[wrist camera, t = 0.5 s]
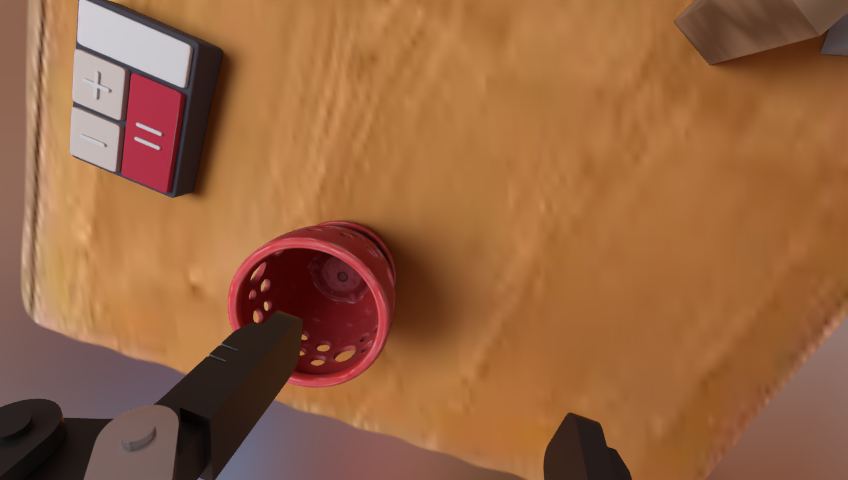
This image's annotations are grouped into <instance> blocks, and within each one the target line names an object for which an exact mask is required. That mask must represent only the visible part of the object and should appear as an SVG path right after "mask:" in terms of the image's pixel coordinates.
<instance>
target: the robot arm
mask: <svg viewBox="0 0 848 480" xmlns="http://www.w3.org/2000/svg"><path fill="white" fill-rule="evenodd" d="M302 328H303V320H302V319H301V318H299V317H296V316H293V315H290V314H287V313H284V312H281V311H276V312H275V313H273V314H272V315H271V316H270V317H269V318H268V319H267V320H266V321H265V322H264V323H263V324H259V323H256V322H252V323H250V324H248V325H246V326H243V327H241V328H239V329H237V330H235V331H234V332H233V333H232V334H231V335H230V336H229V337H228V338H227V339H225V340H224V341H223V342H222V343H221V345H220V346H218V347H217V348H216V349H215V350H213V351H212V352H211V353H210V355H209V357H206V358H205V359H204V360H203V361H202V362H200V363H199V364H198V365H197V366H196V367H195V368H194V369H193V370H192V371H191V372H190V373H188V374H187V375H186V376H185V377H184V378H183V379H182V380H181V381H180V382H179V383H178V384H177V385H175V386H174V387H173V388H172V389H171V390H170V391H169V392H168V393H167V394H166V395H165V396H164V397H162V398H161V399H160V400H159V401H158V402H157V403H155V404H153V405H146V406H141V407H137V408H134V409H131V410H129V411H127V412H125V413H123V414H121V415H119V416H117V417H116V418H115V419H87V418H86V419H85V418H63V414H62V411H61V408H60V407H59V405H58V404H56V403H55V402H53V401H50V400H46V399H28V400H22V401H18V402H14V403H11V404H8V405H5V406H3V407H0V480H197V479H198V478H202V479H204V480H215V479H216V478H217V476H218V475H219V474H220V472H221V471H222V469H223V468H224V467H225V465H226V464H227V462H228V461H229V460H230V459H231V457H232V456H233V455H234V453H235V452H236V450H237V449H238V448H239V446H240V445H241V444H242V442H243V441H244V439H245V438H246V437H247V435H248V434H249V433H250V431H251V430H252V429H253V427H254V426H255V424H256V423H257V422H258V420H259V419H260V418H261V416H262V415H263V414H264V412H265V411H266V409H267V408H268V407H269V405H270V404H271V403H272V401H273V400H274V399H275V397H276V396H277V394H278V393H279V392H280V390H281V389H282V388H283V386H284V385H285V384H286V382H287V381H288V379H289V378H290V377H291V375H292V373H293V372H294V370H295V368H296V365H297V363H298V360H299V355H300V346H301V337H302ZM544 480H632V478H631V475H630V472H629V470H628V468H627V467H626V465H625V464H624V462H623V460H622V459H621V457H620V456H619V454H618V452H617V451H616V450H615V449H613V448H610V447H607V445H606V441H605V437H604V434H603V430H602V427H601V425H600V423H599V422H597V421H594V420H591V419H588V418H585V417H582V416H579V415H576V414H574V413H568V414H567V415H566V417H565V418H564V420H563V422H562V423H561V425H560V426H559V428H558V430H557V431H556V433H555V435H554V436H553V438H552V439H551V441H550V443H549V444H548V446H547V449H546V452H545V456H544Z"/></svg>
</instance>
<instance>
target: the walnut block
mask: <svg viewBox="0 0 848 480" xmlns="http://www.w3.org/2000/svg"><path fill="white" fill-rule="evenodd" d="M847 12H848V0H695V1H694V2H693V3H692V4H691V5H690V6H689V7H688V8H687V9H685V10H684V11H683V12H682V13H681V14H680V15H679V16H678V17H677V18H676V19H675V20H674V21H673V22H674V23H675V25H676V26H677V27H678V28H679V29H680V31H681V32H682V33H683V34H684V35H685V36H686V38H687V39H688V40H689V41H690V42H691V44H692V45H693V46H694V47H695V48H696V50H697V51H698V52H699V53H700V54H701V56H702V57H703V58H704V59H705V60H706V62H707V63H708V64H709V65H711V64H715V63H719V62H723V61H727V60H730V59H734V58H738V57H742V56H746V55H749V54H753V53H757V52H761V51H765V50H768V49H772V48H776V47H780V46H784V45H787V44H791V43H795V42H799V41H803V40H806V39H810V38H814V37H818V36H821V35H822V34H823V33H824V32H825V31H826V30H828V29H829V28H830V27H831V26H832V25H833V24H835V23H836V22H837V21H838V20H839V19H840V18H842V17H843V16H844V15H845V14H846V13H847Z"/></svg>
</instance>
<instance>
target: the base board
mask: <svg viewBox="0 0 848 480" xmlns="http://www.w3.org/2000/svg"><path fill="white" fill-rule="evenodd" d="M820 54H830V55H843V56H848V12H847V13H846V14H845V15H844V16H843V17H842V18H840V19H839V20H838V21H837V22H836V23H835V24H833V25H832V26H831V27H830V28H829V31H828V33H827V36H826V39H825V42H824V44H823V47H822V50H821V53H820Z"/></svg>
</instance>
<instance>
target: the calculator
mask: <svg viewBox="0 0 848 480" xmlns="http://www.w3.org/2000/svg"><path fill="white" fill-rule="evenodd" d="M222 54H223V53H222V50H221V49H220V48H219V47H217V46H215V45H212V44H210V43H208V42H206V41H203V40H201V39H199V38H196V37H194V36H192V35H189V34H187V33H185V32H182V31H180V30H178V29H176V28H173V27H171V26H169V25H166V24H164V23H162V22H159V21H157V20H155V19H152V18H150V17H148V16H146V15H143V14H141V13H139V12H136V11H134V10H132V9H129V8H127V7H125V6H122V5H120V4H118V3H115V2H112V1H108V0H78V18H77V39H76V50H75V52H74V72H73V93H72V98H73V108H72V114H71V135H70V153H71V154H72V155H73V156H74V157H75V158H77V159H80V160H82V161H85V162H87V163H89V164H92V165H94V166H97V167H99V168H101V169H104V170H106V171H109V172H111V173H114V174H116V175H118V176H121V177H123V178H126V179H128V180H130V181H133V182H135V183H138V184H140V185H142V186H145V187H147V188H150V189H152V190H155V191H157V192H159V193H162V194H164V195H167V196H169V197H172V198H174V197H178V196H181V195H184V194H188V193H191V192H193V190H194V185H195V181H196V176H197V171H198V167H199V162H200V157H201V152H202V147H203V141H204V136H205V130H206V125H207V119H208V113H209V108H210V102H211V98H212V96H213V94H214V92H215V87H216V83H217V78H218V73H219V69H220V64H221V59H222Z"/></svg>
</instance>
